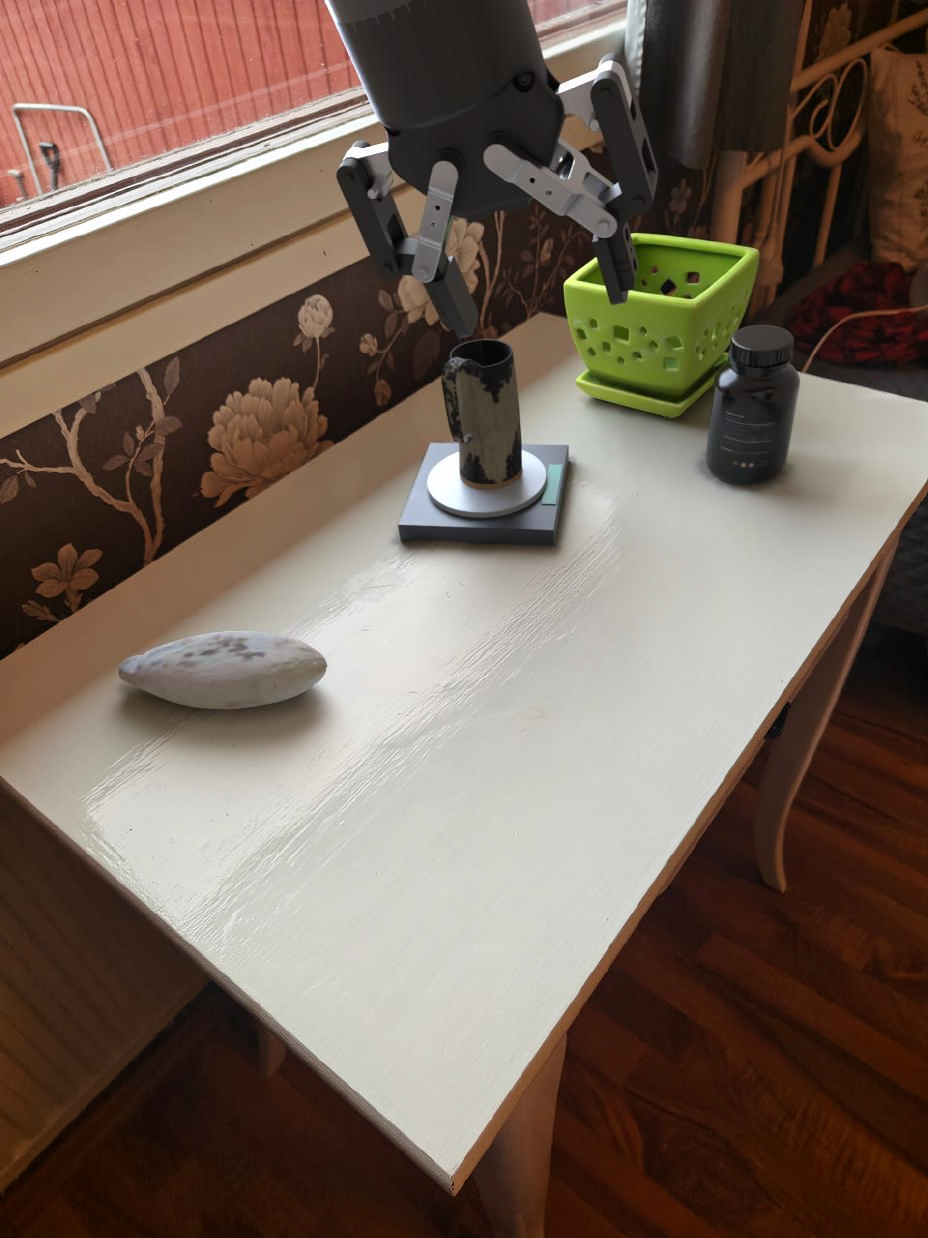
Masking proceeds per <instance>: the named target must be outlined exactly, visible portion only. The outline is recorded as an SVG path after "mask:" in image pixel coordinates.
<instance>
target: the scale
mask: <svg viewBox="0 0 928 1238" xmlns="http://www.w3.org/2000/svg"><path fill="white" fill-rule="evenodd" d="M569 461H570V445H569V444H536V443H535V444H532V443H531V444H530V443H529V444H528V443H525V444H524V443H522V469H523V471H522V475H521V477H520V478H519V479H518V480H517V481H516V482H515V483H513V484H511V485H509V486H507V487H504V488H501V489H495V490H480V489H475V488H472V487H469V486H467V485H466V484H464V483H463V481H462V480H461V479H460V473H459V442H430V443H429V445H428V447H427V450H426V452H425V455H424V458H423V461H422V462H421V465H420V468H419V470H418V473H417V476H416V478H415V481H414V483H413V486H412V488H411V491H410V494H409V495H408V497H407V498H408V499H407V501H406V503H405V506H404V507H403V511H402V513H401V516H400V518H399V520H398V523H397V527H398V533H399V539H400V541H415V542H416V541H417V542H440V543H441V542H445V543H468V544H469V543H470V544H471V543H472V544H493V545H495V544H497V545H519V546H520V545H524V546H546V547H547V546H548V547H549V546H550V547H554V546H555V544H556V539H557V538H556V537H557V532H558V526H559V521H560V520H559V518H560V514H561V509H562V502H563V496H564V491H565V485H566V478H567V472H568V467H569Z"/></svg>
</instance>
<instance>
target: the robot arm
mask: <svg viewBox="0 0 928 1238" xmlns="http://www.w3.org/2000/svg"><path fill="white" fill-rule="evenodd" d="M322 1H323V3H324V4H325V5H326V7H327V8H328V11H329V13H330V15H331V17H332V20H333V22H334V25H335V26H336V29H337V31H338V34H339V36H340V38H341V41H342V42H343V45H344V47H345V49H346V51H347V54H348V56H349V59H350V61H351V63H352V65H353V67H354V70H355V72H356V74H357V77H358V79H359V81H360V83H361V85H362V88H363V90H364V92H365V94H366V97H367V99H368V101H369V104H370V106H371V108H372V110H373V112H374V115H375V117H376V119H377V120H378V122H380V123H381V125H382V126H383V128H384V129H385V132H386V138H387V142H384V143H380V144H376V145H372V144H371V143H369V142H368V141H366V140H363V139H361V140H360V139H359V140H357V141H355V142H354V143H352V145H351V147H350V149H349V150H347V152H346V154H345V156H344V158H343V159H342V161H341V163H340V165H339V167H338V169H337V170H336V173H335V174H336V175H335V177H336V181H337V184H338V185H339V188H340V191H341V192H342V195H343V197H344V200H345V202H346V204H347V206H348V208H349V210H350V213H351V215H352V217H353V219H354V222H355V224H356V226H357V229H358V231H359V233H360V235H361V237H362V240H363V242H364V244H365V247H366V249H367V251H368V253H369V256H370V258H371V260H372V263H373V265H374V267H375V269H376V271H377V274H378V275H380V277H382V278H383V279H385V280H388V281H392V280H395V279H396V278H397V277H398V276H399V275H400V276H410V277H414V279H416V280H417V281H418V282H420V283H422V285H423V286H424V288H425V290H426V293H427V295H428V297H429V299H430V301H431V303H432V306H433V307H434V310H435V312H436V314H437V316H438V318H439V320H440V323H441V325H443V326H444V327H445V329H447V330H448V331H452V330H453V331H454V334H455V335H456V337H457V339H463V338H464V339H465V338H468V337H473V335H474V333H475V330H476V327H477V325H478V321H479V311H478V307H477V305H476V303H475V301H474V298H473V295H472V294H471V292H470V289H469V287H468V284H467V282H466V280H465V278H464V276H463V273H462V270H461V268H460V266H459V264H458V261H457V259H456V256H455V255H450V256H448V255H447V252H446V250H447V247H448V242H449V239H450V236H451V231H452V227H453V223H454V222H455V221H454V220H455V218H459V219H466V222H467V224H471V223H475V222H478V221H481V220H482V221H483V220H484V219H486V218H488V216H490V215H493V214H494V213H495V212H514V211H518V210H522V209H525V208H529V207H530V203H531V201H532V200H534V199H535V201H537V202H539V203H541V204H542V205H543V206H544V207H546V208H547V209H549V211H552V212H553V213H554V214H555V215H557V216H560V217H563V216H568V217H570V218H571V219H572V220H574V221H575V222H577V223H578V224H579V225H580V226H582V227H583V228H584V229H586V230H588V231H589V232H590V233H591V234H593V236H592V237H593V238H592V241H591V244H592V247H593V250H594V254H595V258H596V257H597V261H598V264H599V267H600V271H601V274H602V278H603V281H604V284H605V288H606V291H607V294H608V298H609V301H610V304H611V305H617V304H622V303H626V302H627V297H628V292H629V290H633V289H634V284H635V279H636V274H637V269H638V260H637V256H636V253H635V248H634V246H633V241H632V237H631V234H632V233H631V230H630V226H629V222H628V221H629V220H630V219H632V218H633V217H635V216H643V215H646V214H647V213H649V212H650V210H651V209H652V207H653V203H654V199H655V194H656V190H657V189H656V188H657V185H658V178H659V169H658V165H657V163H656V159H655V155H654V153H653V148H652V145H651V142H650V139H649V135H648V132H647V128H646V124H645V122H644V118H643V115H642V111H641V108H640V104H639V101H638V97H637V95H636V90H635V88H634V85H633V81H632V77H631V74H630V71H629V66H628V64H627V60H626V59H625V57H624V56H622V54H620V53H617V52H609V53H606V54H605V55H604V56H603V57H602V58H601V59H600V61H599V64H598V67H597V69H595V70H592V71H590V72H587V73H585V74H582V75H580V76H577V77H575V78H573V79H569V80H568V81H565V82H563V83H561V82H560V81H559V80H558V78H556V76H554V74H553V73H552V72H551V70H550V68H549V67H548V65H547V63H546V60H545V58H544V54H543V50H542V47H541V43H540V39H539V35H538V33H537V30H536V26H535V22H534V19H533V16H532V12H531V10H530V5H529V2H528V0H322ZM567 115H573V116H576V117H578V118H580V120H581V121H582V123H583V124H584V126H585V128H587V130H589V131H591V132H593V133H600V132H601V135H602V138H603V141H604V144H605V147H606V150H607V153H608V156H609V159H610V162H611V165H612V169H613V171H614V175H615V178H616V181H617V182H616V183H615V184H614V183H613V182H611V180H609V179H608V178H606V177H605V176H604V175H602V174H601V173H599V172H598V171H597V170H595V169H594V168H593V167H592V166H591V164H590V162H589V160H588V158H587V157H586V156H585V155H584V154H583V152H581V151H579V150H578V149H577V148H575V147H574V146H573V145H571V144H570V143H568V142H567V141H566V140H564V139H563V137H561V133H562V130H563V127H564V124H565V122H566V121H565V120H566V117H567ZM393 172H394V173H395V174H396V175H397V177H399V178H400V179H401V180H403V181H404V182H406V183H407V184H408V185H409V186H411V187H412V188H414V189H415V190H416V191H418V192H419V193H421V194H422V195H423V196H425V197H426V199H425V202H424V203H425V204H424V208H423V212H422V217H421V220H420V225H419V230H418V234H417V238H410V236H409V234H408V231H407V228H406V226H405V224H404V221H403V218H402V215H401V214H400V211H399V209H398V206H397V204H396V201H395V199H394V196H393V193H392V191H391V188H392V185H393V183H394V174H393Z"/></svg>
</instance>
